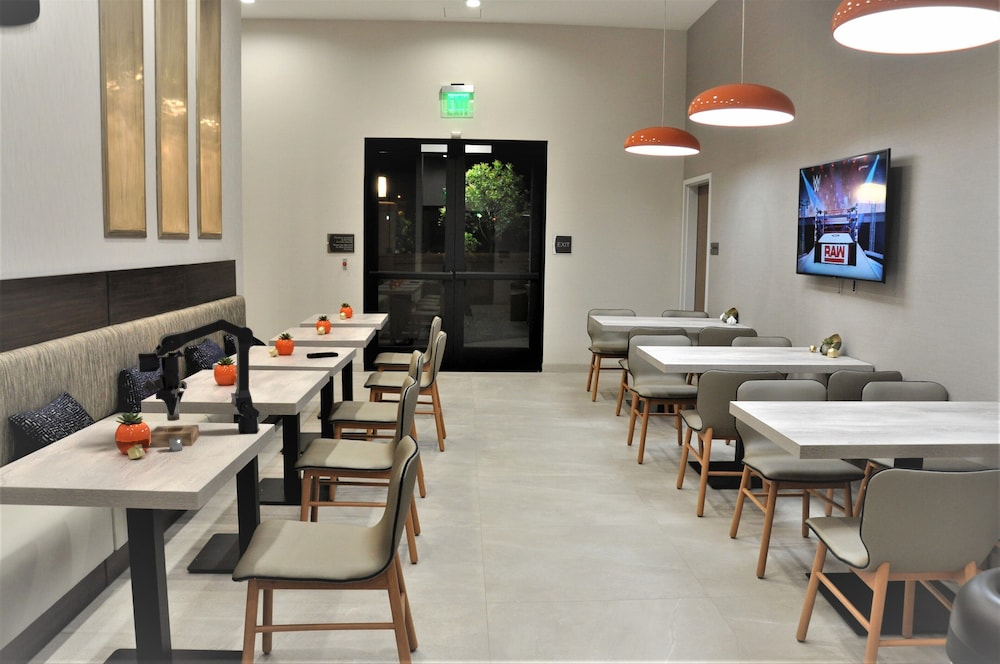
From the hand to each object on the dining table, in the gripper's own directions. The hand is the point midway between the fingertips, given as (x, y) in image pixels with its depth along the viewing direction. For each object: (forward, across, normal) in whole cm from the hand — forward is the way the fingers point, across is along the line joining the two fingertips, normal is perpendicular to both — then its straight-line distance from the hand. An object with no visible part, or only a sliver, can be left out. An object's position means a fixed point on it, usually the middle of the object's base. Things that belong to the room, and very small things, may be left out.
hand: (173, 413), depth 269 cm
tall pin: (+2, 0, 0) cm, 2 cm away
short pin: (+10, +11, +3) cm, 15 cm away
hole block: (+10, 0, 0) cm, 10 cm away
